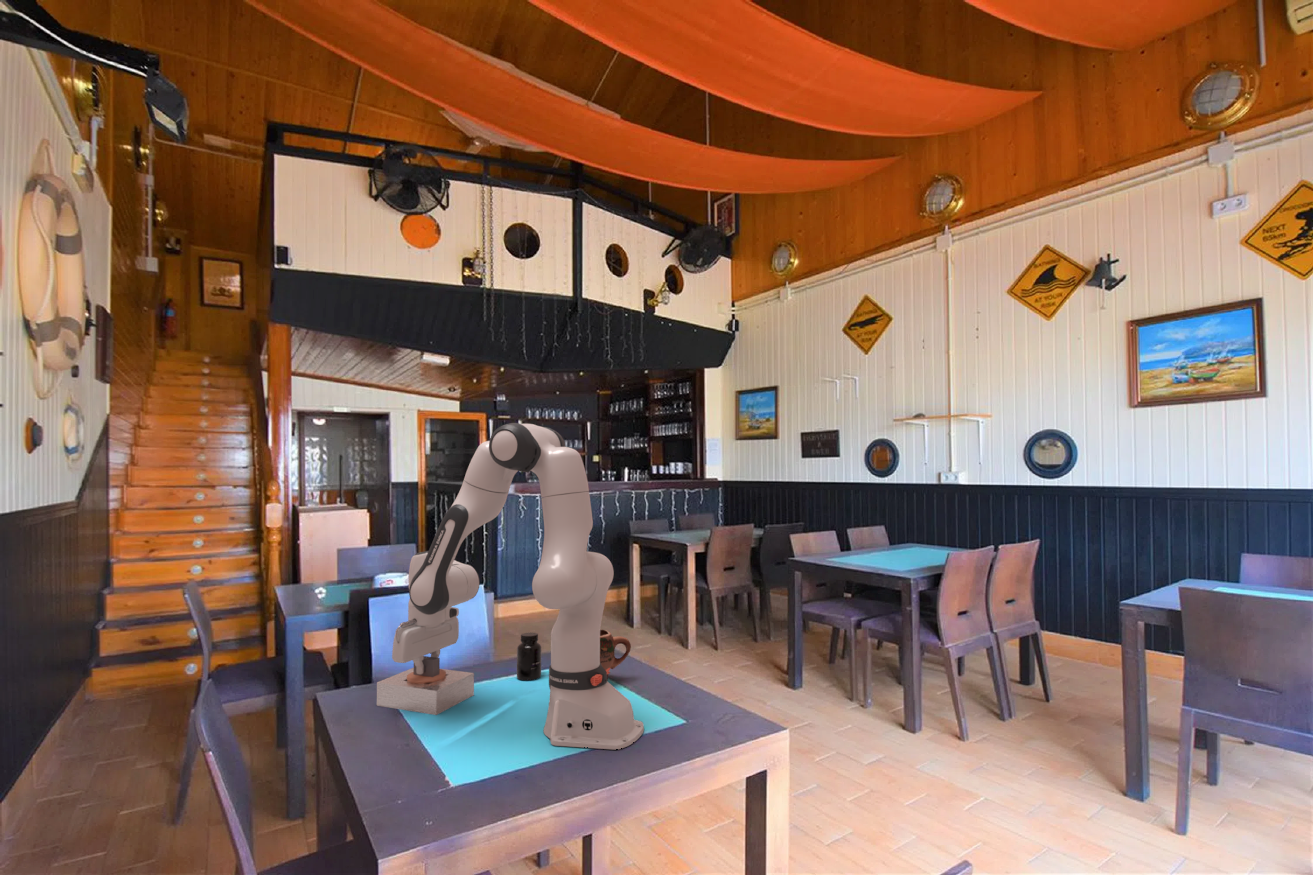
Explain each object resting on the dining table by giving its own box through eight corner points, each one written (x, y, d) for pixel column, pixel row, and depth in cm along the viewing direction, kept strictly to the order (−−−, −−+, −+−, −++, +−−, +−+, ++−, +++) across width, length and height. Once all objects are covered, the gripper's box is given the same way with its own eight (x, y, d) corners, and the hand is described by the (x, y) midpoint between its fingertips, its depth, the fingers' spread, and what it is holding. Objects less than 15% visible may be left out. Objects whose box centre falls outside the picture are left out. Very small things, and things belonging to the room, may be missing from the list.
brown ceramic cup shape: (622, 671, 185) (622, 622, 186) (637, 684, 174) (637, 632, 175) (554, 681, 177) (554, 630, 178) (565, 695, 166) (565, 640, 167)
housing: (473, 700, 163) (473, 672, 163) (436, 721, 149) (436, 690, 150) (417, 692, 169) (417, 665, 169) (376, 711, 156) (376, 682, 156)
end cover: (453, 696, 162) (453, 654, 162) (428, 708, 153) (428, 665, 154) (424, 691, 165) (424, 651, 166) (398, 704, 157) (398, 661, 157)
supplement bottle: (538, 681, 177) (538, 637, 178) (514, 681, 178) (514, 637, 178) (543, 673, 184) (543, 631, 185) (519, 673, 184) (520, 631, 185)
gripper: (406, 625, 150) (406, 685, 149) (463, 607, 169) (462, 660, 168) (385, 623, 152) (385, 682, 151) (443, 606, 171) (443, 658, 170)
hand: (426, 671), depth 160 cm, fingers closed on end cover, 2 cm apart
